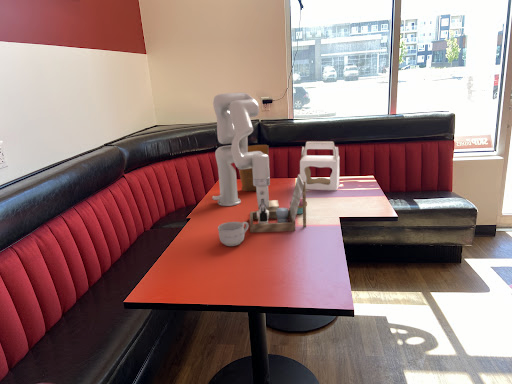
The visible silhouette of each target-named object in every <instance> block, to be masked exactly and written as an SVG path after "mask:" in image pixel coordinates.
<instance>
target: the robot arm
mask: <svg viewBox="0 0 512 384" xmlns="http://www.w3.org/2000/svg"><path fill="white" fill-rule="evenodd" d="M212 102H213V103H212V105H213V109H214V110H213V111H214V113H215V116H216V129H217V130H216V131H217V132H216V133H217V136H216V137H217V140H218V143H220V144H222V145H223V146H219V147H218V148H217V149H216V150H215V152H214V154H215V160H216V164H217V172H218V183H219V184H218V185H219V195H217V196H216V195H212V198H211V199H212V200H214V201H217V204H218V205H219V206H222V207H232V206H236V205H240V204H241V202H242V201H241V199H240V198H238V196H239V194H238V183H237V182H238V180H237V171H236V169H235V168H237V169H238V170H239V169H240V170H243V169H250V168H252V170H253V185H254V186H256V191H255V192H256V201H257V208H258V207H259V208H260V221H261V222H262V221H267V212H266V207H269V199H270V197H269V186H270V185H271V178H270V177H271V176H270V174H271V173H270V156H269V154H268V155H267V154H263V153H262V152H261V151H253V152H248V146H249V143H248V136H250V135H251V134H252V133H253V132H254V127H253V124H252V120H251V118H257V116H258V115H259V113H260V106H259V103H258V102H257V99H255V98H254V97H252V96H251V95H250V94H249V93H247V92H227V93H218V94H217V95H215V96H214V98H213V101H212ZM227 144H231V145H227ZM232 164H234V165H235V167H234V166H233V165H232Z"/></svg>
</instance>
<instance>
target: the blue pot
mask: <svg viewBox="0 0 512 384" xmlns="http://www.w3.org/2000/svg"><path fill="white" fill-rule="evenodd" d="M288 210H289V208H287V207H279V208H278V209H276V217H277V218H276V219H277V223H287V222H288Z"/></svg>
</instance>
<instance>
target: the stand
mask: <svg viewBox="0 0 512 384" xmlns="http://www.w3.org/2000/svg"><path fill="white" fill-rule="evenodd" d="M257 208H258V210H260V208H259V207H258V206H257ZM278 208H280V205H279V200H278V199H277V200H276V199H273V200H269V207H266V210H269V211H276V209H278Z"/></svg>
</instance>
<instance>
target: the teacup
mask: <svg viewBox="0 0 512 384" xmlns="http://www.w3.org/2000/svg"><path fill="white" fill-rule="evenodd" d="M249 228H250V224H249V222H247V221H242V222H241V221H229V222H224V223H221V224H219V225H218V226H217V231H218V237H219V241H220V242H221V243H222V244H223V245H225V246H227V247H235V246H238V245H241V243H242V242H243V241H244V240H245V234H246V232H247V231H248V230H249Z"/></svg>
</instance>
